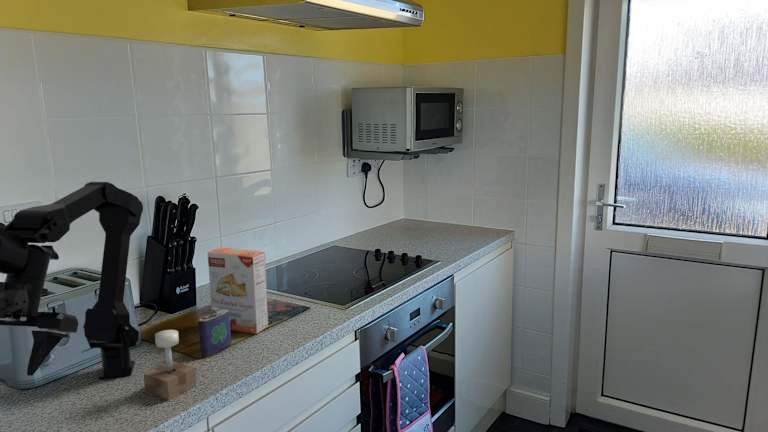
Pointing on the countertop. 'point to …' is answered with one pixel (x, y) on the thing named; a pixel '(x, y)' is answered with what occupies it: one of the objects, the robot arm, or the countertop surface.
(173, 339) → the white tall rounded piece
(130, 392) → the countertop surface
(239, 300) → the cracker box
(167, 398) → the block
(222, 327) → the flask
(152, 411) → the countertop surface
